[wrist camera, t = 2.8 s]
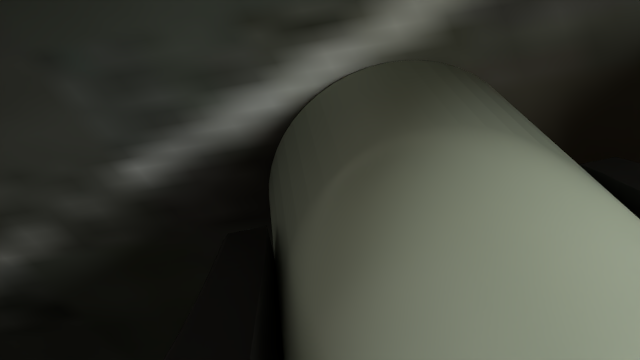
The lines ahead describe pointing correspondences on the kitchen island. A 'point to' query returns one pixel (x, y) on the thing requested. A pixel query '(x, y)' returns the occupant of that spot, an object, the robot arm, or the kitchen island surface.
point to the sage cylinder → (444, 229)
